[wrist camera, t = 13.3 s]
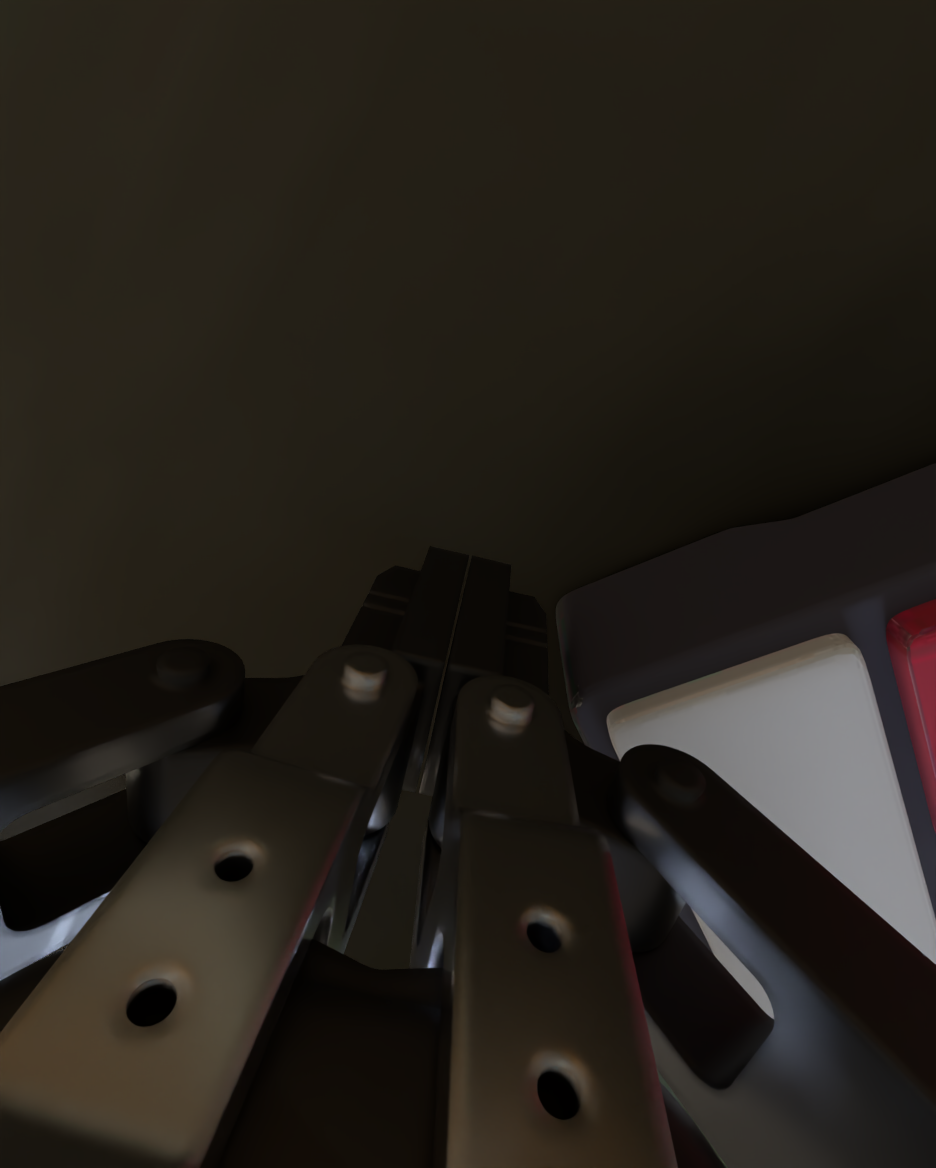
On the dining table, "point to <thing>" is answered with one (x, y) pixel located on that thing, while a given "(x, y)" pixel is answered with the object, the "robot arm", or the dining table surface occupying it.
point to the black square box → (787, 685)
